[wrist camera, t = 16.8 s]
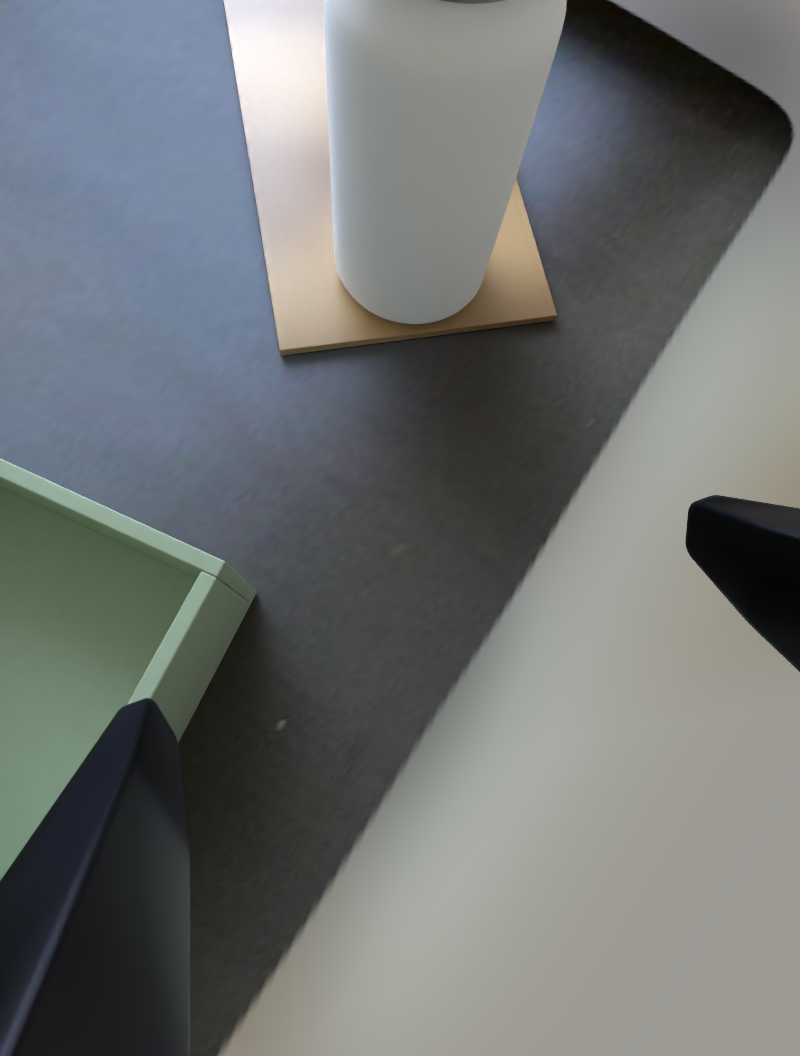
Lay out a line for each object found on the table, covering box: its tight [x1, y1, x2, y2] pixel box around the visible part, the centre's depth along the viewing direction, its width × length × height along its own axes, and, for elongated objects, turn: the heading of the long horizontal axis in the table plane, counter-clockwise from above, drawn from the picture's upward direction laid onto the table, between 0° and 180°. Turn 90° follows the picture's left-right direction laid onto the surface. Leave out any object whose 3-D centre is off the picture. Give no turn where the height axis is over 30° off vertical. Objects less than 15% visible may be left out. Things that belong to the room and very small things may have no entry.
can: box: [324, 0, 566, 324], centre depth 19 cm, size 6×6×12 cm
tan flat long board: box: [223, 0, 557, 355], centre depth 29 cm, size 36×12×1 cm, turn 11°
